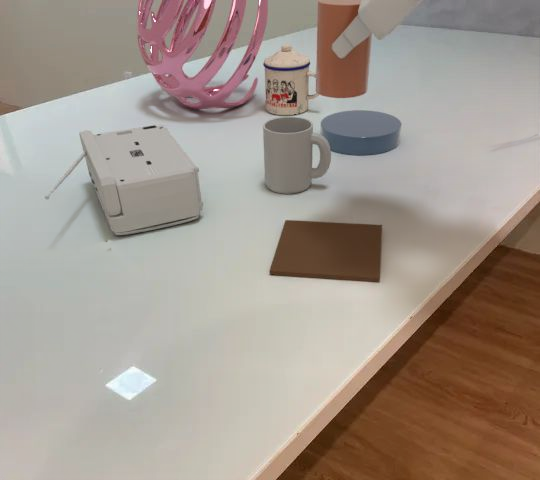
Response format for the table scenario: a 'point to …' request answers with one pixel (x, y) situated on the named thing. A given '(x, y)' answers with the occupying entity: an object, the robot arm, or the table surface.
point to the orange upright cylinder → (328, 63)
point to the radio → (140, 178)
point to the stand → (361, 132)
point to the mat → (329, 251)
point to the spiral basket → (184, 48)
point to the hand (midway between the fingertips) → (338, 44)
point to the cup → (292, 154)
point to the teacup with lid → (287, 82)
